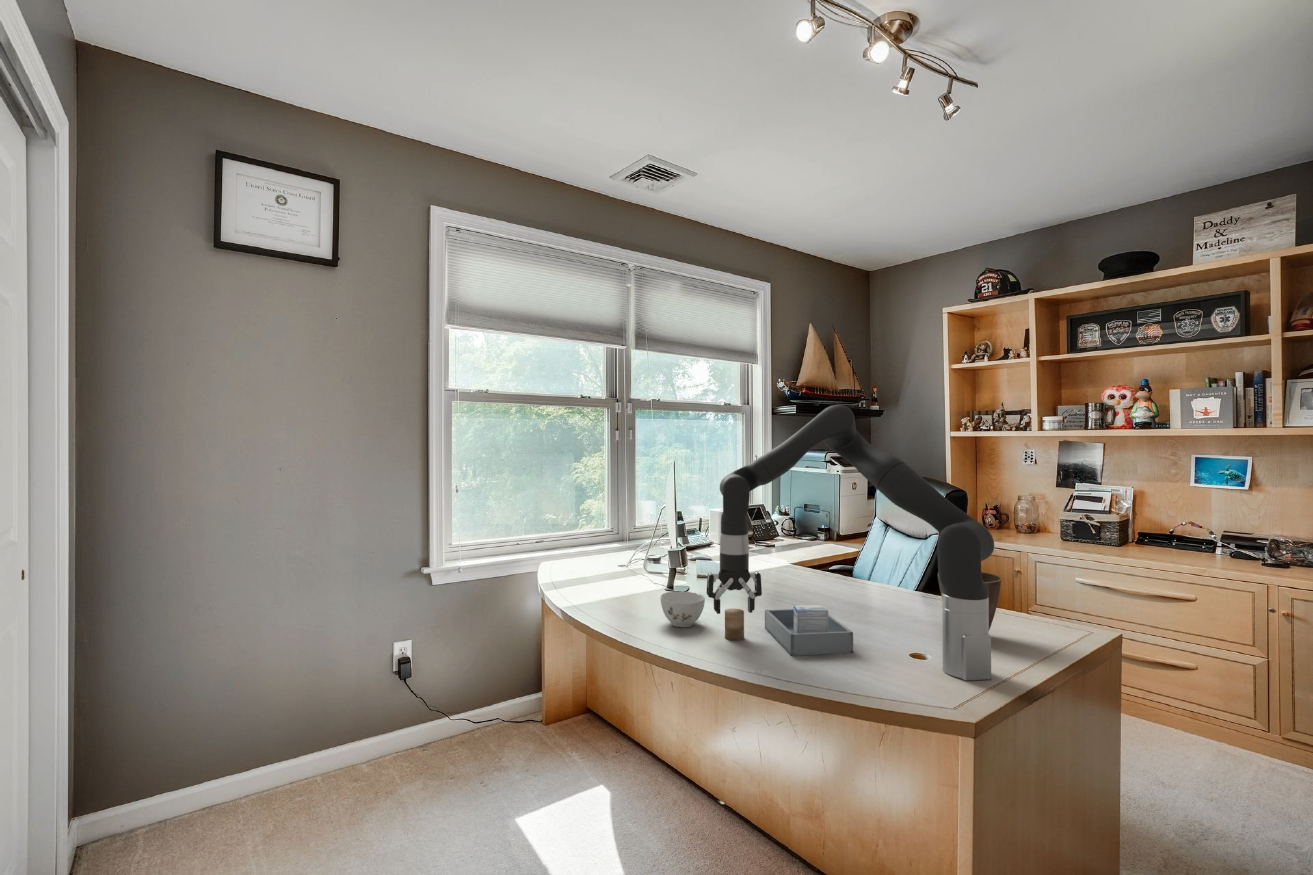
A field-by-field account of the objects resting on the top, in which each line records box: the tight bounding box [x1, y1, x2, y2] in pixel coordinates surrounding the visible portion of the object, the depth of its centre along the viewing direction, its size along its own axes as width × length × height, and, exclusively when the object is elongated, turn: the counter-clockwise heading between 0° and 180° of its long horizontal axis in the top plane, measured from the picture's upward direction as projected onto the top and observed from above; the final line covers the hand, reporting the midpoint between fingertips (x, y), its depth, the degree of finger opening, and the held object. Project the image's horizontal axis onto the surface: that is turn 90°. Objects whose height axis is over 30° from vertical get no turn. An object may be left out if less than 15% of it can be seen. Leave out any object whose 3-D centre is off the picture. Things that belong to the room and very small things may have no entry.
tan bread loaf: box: [724, 607, 745, 642], centre depth 162 cm, size 5×5×7 cm
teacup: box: [659, 590, 706, 628], centre depth 175 cm, size 15×12×8 cm
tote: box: [764, 608, 854, 657], centre depth 160 cm, size 22×16×5 cm
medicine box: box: [793, 604, 829, 634], centre depth 157 cm, size 8×4×9 cm, turn 89°
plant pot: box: [937, 571, 1002, 631], centre depth 162 cm, size 15×15×16 cm
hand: (734, 612), depth 163 cm, fingers open, 8 cm apart
